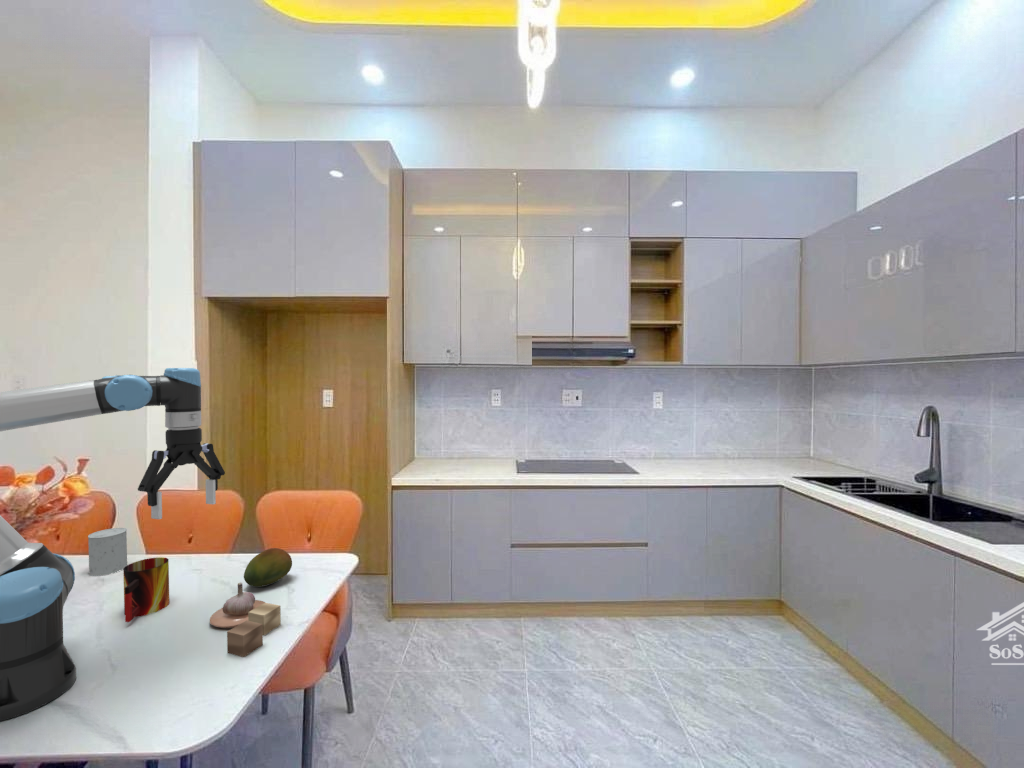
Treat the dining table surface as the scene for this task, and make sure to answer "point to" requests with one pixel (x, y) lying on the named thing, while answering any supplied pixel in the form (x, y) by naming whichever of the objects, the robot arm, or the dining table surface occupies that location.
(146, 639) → the dining table surface
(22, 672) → the robot arm
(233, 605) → the garlic bulb
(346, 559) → the dining table surface
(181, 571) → the dining table surface
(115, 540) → the grey concrete cylinder
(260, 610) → the oak block
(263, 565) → the fruit
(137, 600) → the mug
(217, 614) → the peach ellipsoid
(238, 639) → the walnut block
